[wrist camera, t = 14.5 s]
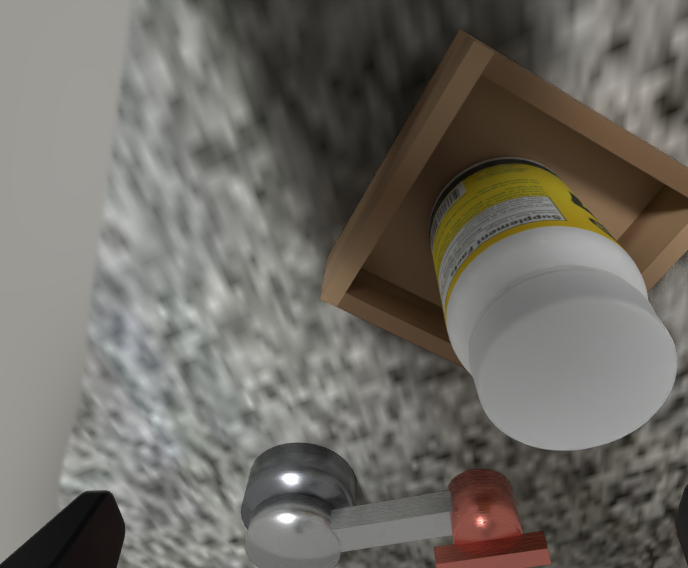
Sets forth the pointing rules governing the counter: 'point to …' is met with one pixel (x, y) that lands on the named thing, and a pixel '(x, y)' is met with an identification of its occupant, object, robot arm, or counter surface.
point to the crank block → (299, 477)
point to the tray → (482, 144)
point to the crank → (399, 527)
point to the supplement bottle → (546, 309)
